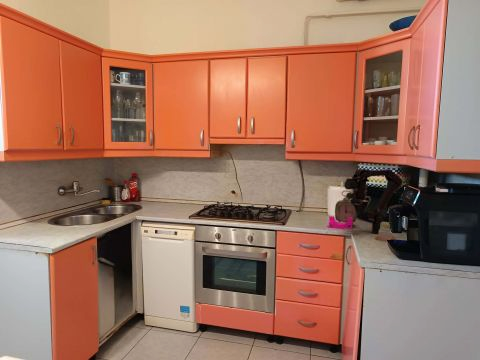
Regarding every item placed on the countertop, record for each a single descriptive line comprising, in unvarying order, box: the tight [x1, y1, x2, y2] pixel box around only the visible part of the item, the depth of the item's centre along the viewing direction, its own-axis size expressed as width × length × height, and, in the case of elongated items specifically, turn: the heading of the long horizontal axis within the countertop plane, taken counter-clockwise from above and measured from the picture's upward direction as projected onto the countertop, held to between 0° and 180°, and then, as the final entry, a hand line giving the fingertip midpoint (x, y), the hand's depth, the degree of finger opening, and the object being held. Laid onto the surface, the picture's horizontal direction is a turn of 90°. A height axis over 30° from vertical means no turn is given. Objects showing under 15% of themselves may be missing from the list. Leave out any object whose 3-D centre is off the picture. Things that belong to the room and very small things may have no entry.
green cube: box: [380, 221, 392, 232], centre depth 186 cm, size 4×4×4 cm
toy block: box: [328, 215, 353, 230], centre depth 214 cm, size 15×6×8 cm, turn 68°
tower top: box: [379, 229, 394, 238], centre depth 186 cm, size 7×7×3 cm
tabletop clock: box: [334, 190, 358, 228], centre depth 219 cm, size 14×9×25 cm, turn 66°
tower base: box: [374, 233, 397, 243], centre depth 186 cm, size 9×9×3 cm
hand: (360, 213), depth 198 cm, fingers open, 9 cm apart
